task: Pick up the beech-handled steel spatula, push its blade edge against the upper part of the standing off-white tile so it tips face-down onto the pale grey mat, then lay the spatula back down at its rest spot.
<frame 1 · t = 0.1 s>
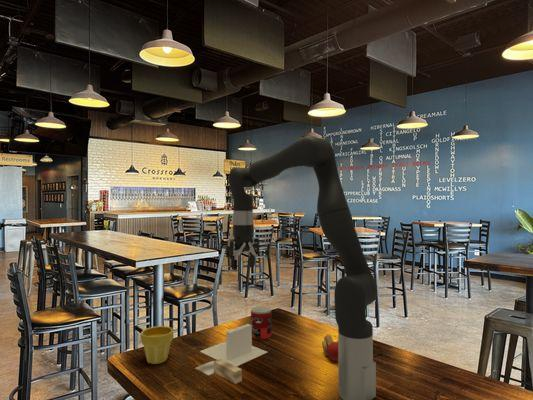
hand: (243, 268, 131), 29 cm above the table, tool pointing down, fingers open, 8 cm apart
kendama: (332, 353, 128), on the table
mat: (233, 353, 128), on the table
plant pot: (157, 360, 123), on the table
tile: (239, 354, 125), resting on mat
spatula: (227, 378, 110), on the table
canned food: (261, 337, 142), on the table
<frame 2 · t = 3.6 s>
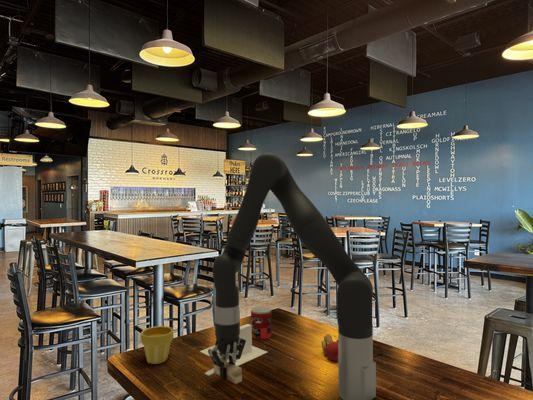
hand: (227, 376, 110), 1 cm above the table, tool pointing down, fingers closed on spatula, 2 cm apart
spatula: (227, 378, 110), on the table, touching gripper
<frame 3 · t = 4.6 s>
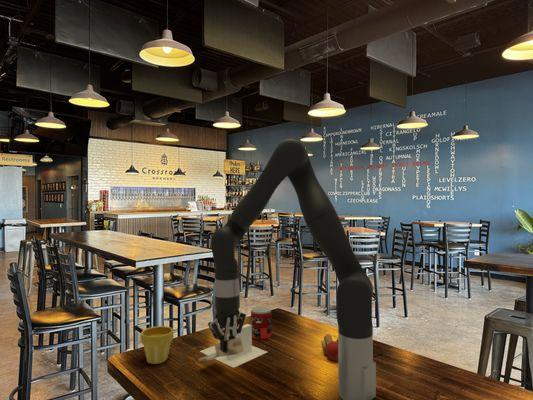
hand: (228, 350, 110), 9 cm above the table, tool pointing down, fingers closed on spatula, 2 cm apart
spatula: (230, 354, 109), point 8 cm above the table, tilted 21°, touching gripper
everything else where it was.
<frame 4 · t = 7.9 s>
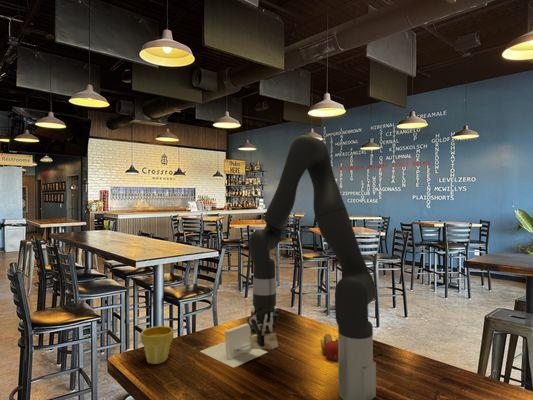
hand: (264, 344, 117), 7 cm above the table, tool pointing down, fingers closed on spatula, 2 cm apart
tile: (239, 353, 125), point 1 cm above the table, tilted 5°, touching mat
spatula: (264, 347, 117), point 6 cm above the table, tilted 17°, touching gripper
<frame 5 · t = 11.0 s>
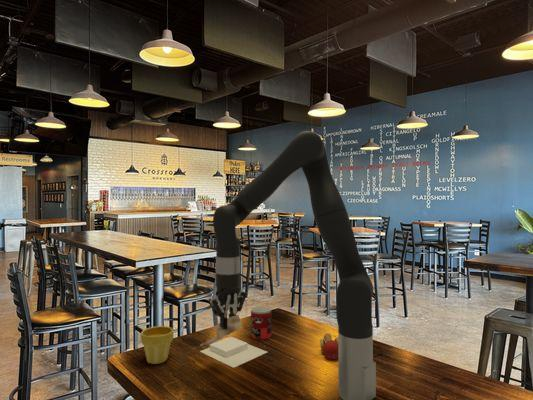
hand: (228, 327, 110), 15 cm above the table, tool pointing down, fingers closed on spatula, 2 cm apart
tile: (237, 350, 126), point 2 cm above the table, tilted 90°, touching mat
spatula: (230, 333, 110), point 14 cm above the table, tilted 29°, touching gripper
when the fingers open (2 cm above the table, at t = 13.8 s): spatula drops 2 cm, on the table.
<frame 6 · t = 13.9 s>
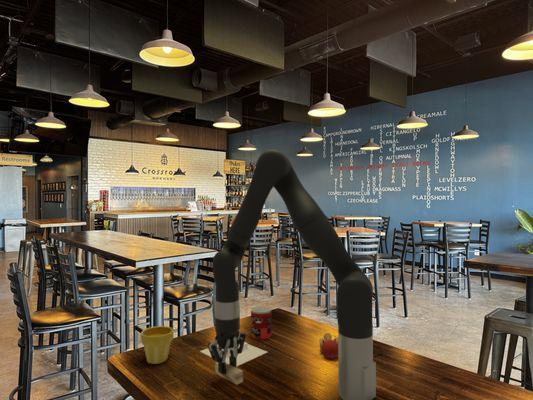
hand: (227, 371, 110), 2 cm above the table, tool pointing down, fingers open, 3 cm apart
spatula: (228, 380, 109), on the table
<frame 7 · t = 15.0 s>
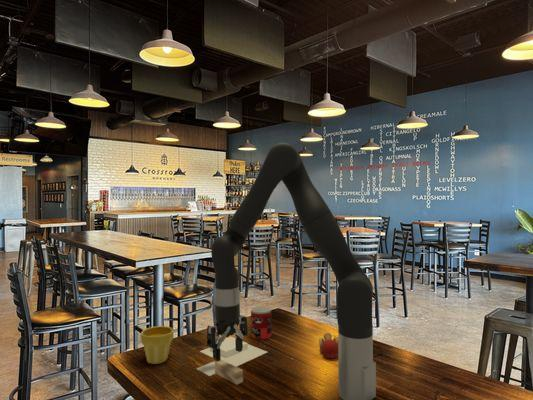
hand: (228, 355, 110), 7 cm above the table, tool pointing down, fingers open, 8 cm apart
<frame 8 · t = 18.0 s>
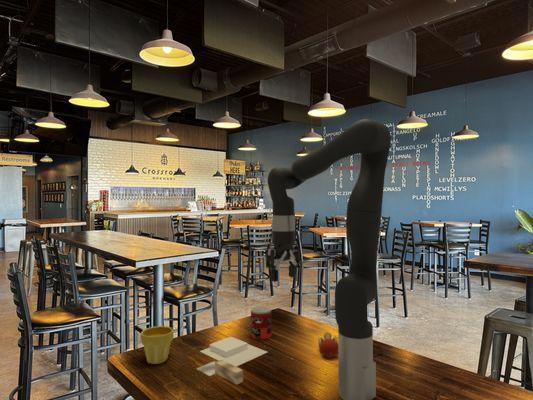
hand: (283, 279, 118), 28 cm above the table, tool pointing down, fingers open, 8 cm apart
at the end: tile tilted 90°; tile inside the target area (0.9 cm from its centre), point 1.5 cm above the table; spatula inside the target area (0.6 cm from its centre), on the table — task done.
